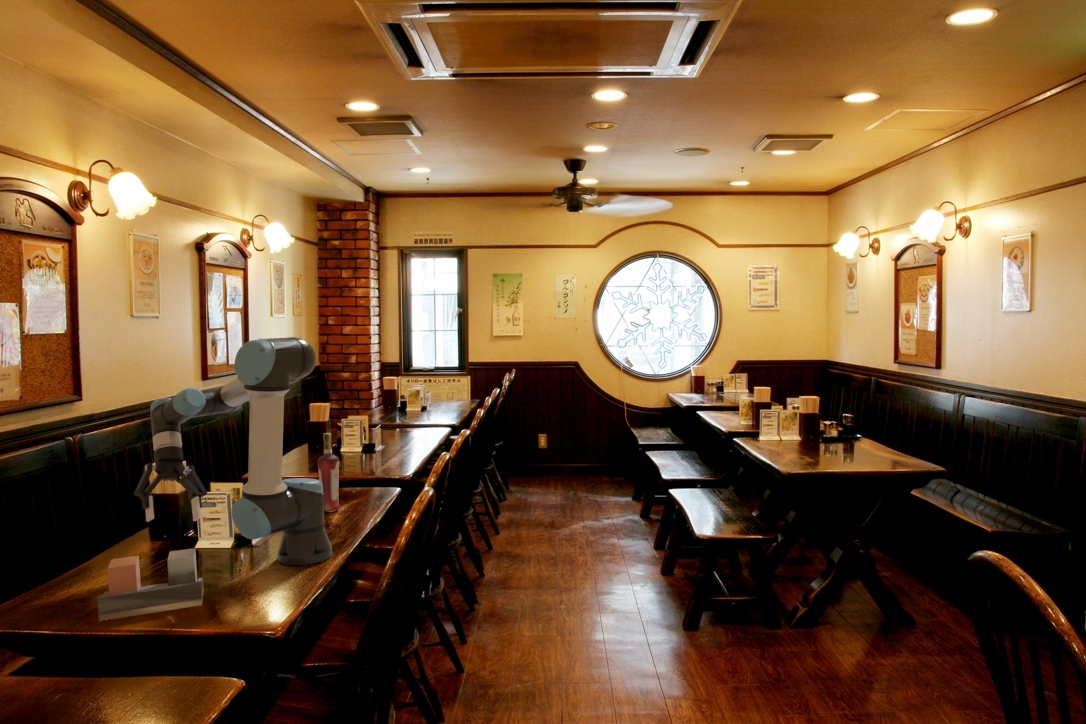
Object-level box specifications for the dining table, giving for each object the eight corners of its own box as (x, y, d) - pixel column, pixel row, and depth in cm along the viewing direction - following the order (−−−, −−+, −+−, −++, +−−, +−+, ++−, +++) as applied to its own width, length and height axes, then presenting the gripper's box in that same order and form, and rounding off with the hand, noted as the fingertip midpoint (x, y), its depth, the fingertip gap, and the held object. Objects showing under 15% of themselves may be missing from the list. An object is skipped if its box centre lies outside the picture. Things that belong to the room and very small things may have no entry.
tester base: (105, 605, 182) (104, 584, 182) (203, 590, 191) (202, 570, 190) (99, 621, 173) (97, 598, 173) (202, 604, 182) (200, 583, 181)
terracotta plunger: (113, 594, 186) (111, 559, 185) (140, 590, 188) (138, 555, 187) (109, 604, 179) (107, 568, 178) (137, 600, 181) (135, 564, 181)
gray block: (171, 585, 191) (169, 551, 190) (197, 581, 193) (195, 548, 192) (169, 595, 184) (167, 560, 183) (196, 591, 186) (194, 556, 186)
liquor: (323, 508, 268) (320, 431, 266) (343, 507, 268) (340, 431, 266) (316, 513, 261) (313, 435, 259) (337, 513, 261) (334, 435, 259)
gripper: (200, 457, 228) (208, 523, 220) (117, 451, 208) (122, 524, 200) (214, 447, 225) (222, 515, 217) (131, 441, 205) (136, 515, 197)
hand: (174, 519), depth 208 cm, fingers open, 13 cm apart
